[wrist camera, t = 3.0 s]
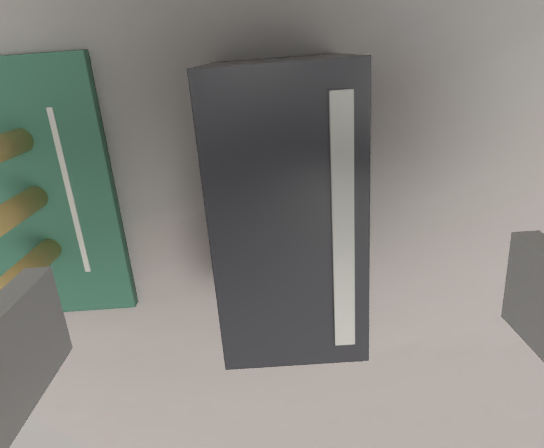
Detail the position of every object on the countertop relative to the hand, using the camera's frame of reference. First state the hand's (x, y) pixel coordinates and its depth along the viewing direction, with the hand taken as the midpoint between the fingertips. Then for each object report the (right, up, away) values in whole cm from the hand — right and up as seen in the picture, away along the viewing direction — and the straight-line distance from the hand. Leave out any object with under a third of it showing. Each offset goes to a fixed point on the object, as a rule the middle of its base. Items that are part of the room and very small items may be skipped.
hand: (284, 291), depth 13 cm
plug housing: (0, +4, +11) cm, 12 cm away
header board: (-13, +4, +11) cm, 18 cm away
